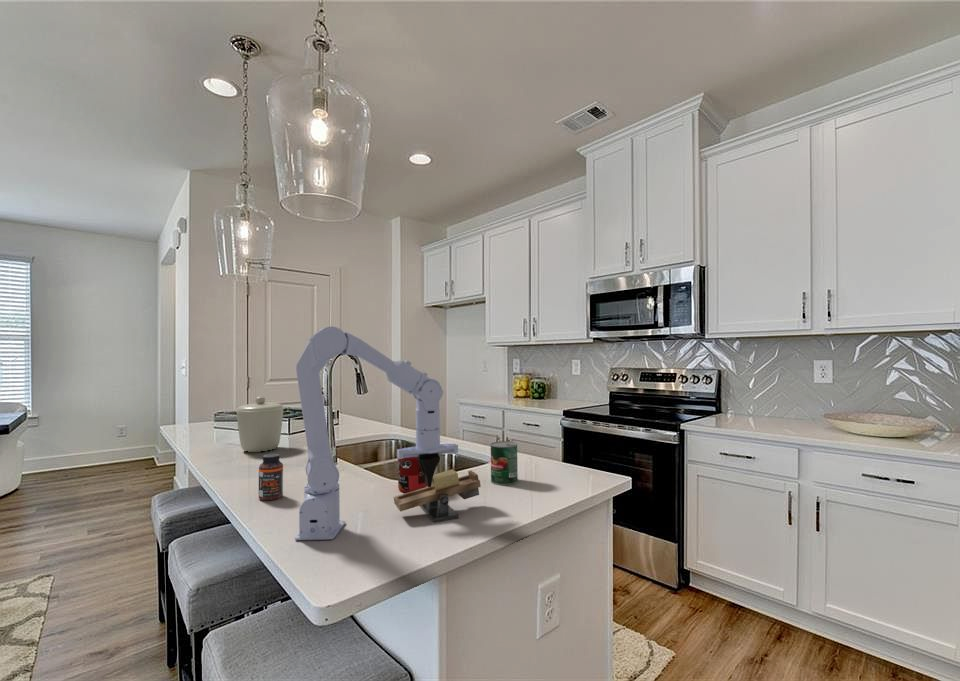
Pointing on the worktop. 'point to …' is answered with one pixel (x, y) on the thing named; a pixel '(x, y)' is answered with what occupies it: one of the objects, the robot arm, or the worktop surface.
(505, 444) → the canned tomato
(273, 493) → the supplement bottle
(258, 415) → the canister
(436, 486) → the rider
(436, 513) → the stand
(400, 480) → the canned food
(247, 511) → the worktop surface
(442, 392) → the robot arm
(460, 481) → the beam
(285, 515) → the worktop surface
